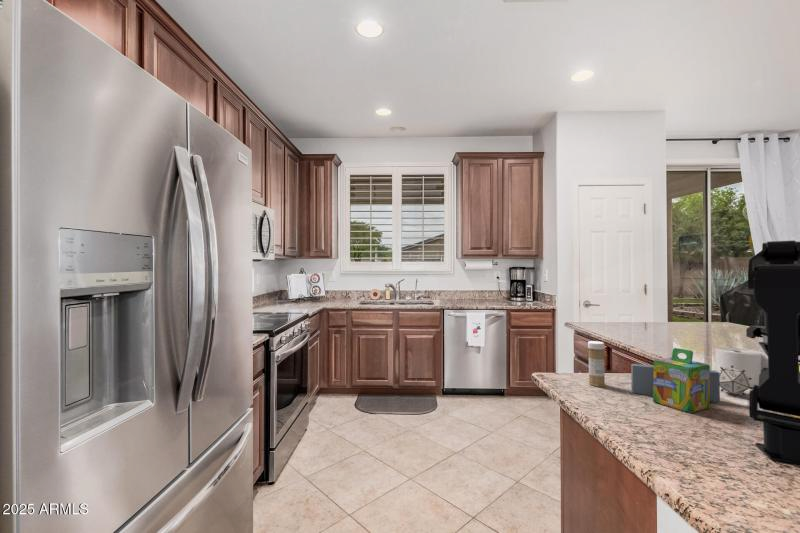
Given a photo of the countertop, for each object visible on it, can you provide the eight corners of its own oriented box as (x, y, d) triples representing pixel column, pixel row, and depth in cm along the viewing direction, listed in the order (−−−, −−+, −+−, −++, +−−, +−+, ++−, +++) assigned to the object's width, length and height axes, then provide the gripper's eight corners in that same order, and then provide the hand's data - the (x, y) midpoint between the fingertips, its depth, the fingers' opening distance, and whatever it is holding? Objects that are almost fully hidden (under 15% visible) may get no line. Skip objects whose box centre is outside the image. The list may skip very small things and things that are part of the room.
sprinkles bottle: (603, 383, 115) (603, 341, 115) (605, 388, 111) (605, 343, 111) (587, 382, 117) (587, 340, 117) (589, 386, 113) (588, 342, 113)
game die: (742, 409, 103) (768, 387, 97) (710, 396, 105) (734, 375, 99) (730, 385, 110) (754, 364, 104) (700, 374, 112) (723, 353, 106)
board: (719, 402, 98) (719, 372, 98) (633, 393, 106) (632, 365, 106) (716, 399, 100) (715, 370, 100) (631, 390, 108) (631, 363, 108)
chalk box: (652, 402, 99) (651, 347, 99) (672, 397, 103) (671, 344, 103) (691, 414, 90) (690, 355, 91) (711, 408, 94) (710, 351, 94)
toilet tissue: (707, 376, 122) (707, 346, 122) (748, 378, 120) (748, 347, 120) (731, 387, 111) (731, 354, 111) (776, 388, 109) (776, 355, 109)
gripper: (866, 313, 69) (868, 395, 69) (805, 304, 86) (806, 370, 86) (788, 311, 74) (789, 388, 73) (744, 302, 91) (745, 365, 91)
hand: (783, 377), depth 81 cm, fingers closed
